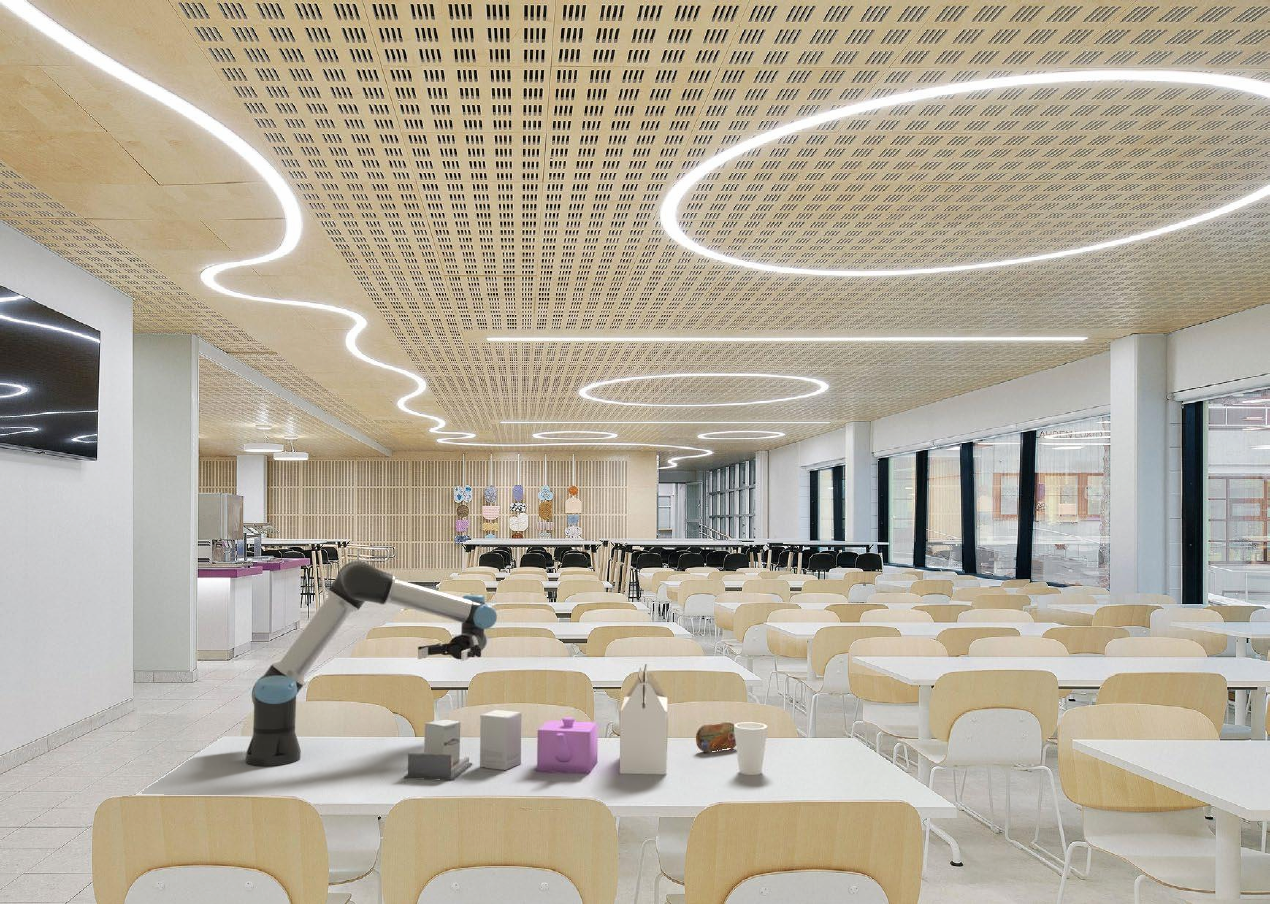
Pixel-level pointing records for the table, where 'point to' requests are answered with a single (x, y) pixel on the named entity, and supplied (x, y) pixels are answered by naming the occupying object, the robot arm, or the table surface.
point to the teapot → (567, 746)
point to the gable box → (644, 728)
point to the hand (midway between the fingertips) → (440, 655)
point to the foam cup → (750, 746)
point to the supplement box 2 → (500, 739)
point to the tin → (716, 737)
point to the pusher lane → (435, 766)
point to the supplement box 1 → (443, 738)
